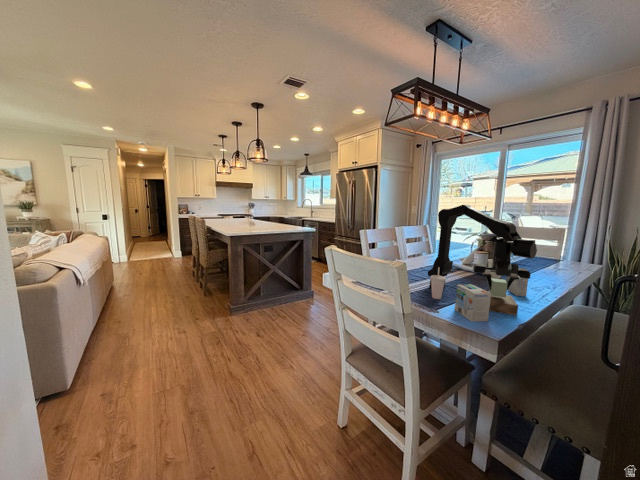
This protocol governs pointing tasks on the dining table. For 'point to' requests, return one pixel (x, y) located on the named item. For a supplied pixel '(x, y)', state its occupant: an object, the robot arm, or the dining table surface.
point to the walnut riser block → (503, 305)
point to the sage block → (498, 287)
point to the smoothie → (437, 285)
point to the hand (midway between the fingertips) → (497, 290)
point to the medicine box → (519, 287)
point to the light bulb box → (472, 302)
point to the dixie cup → (492, 272)
